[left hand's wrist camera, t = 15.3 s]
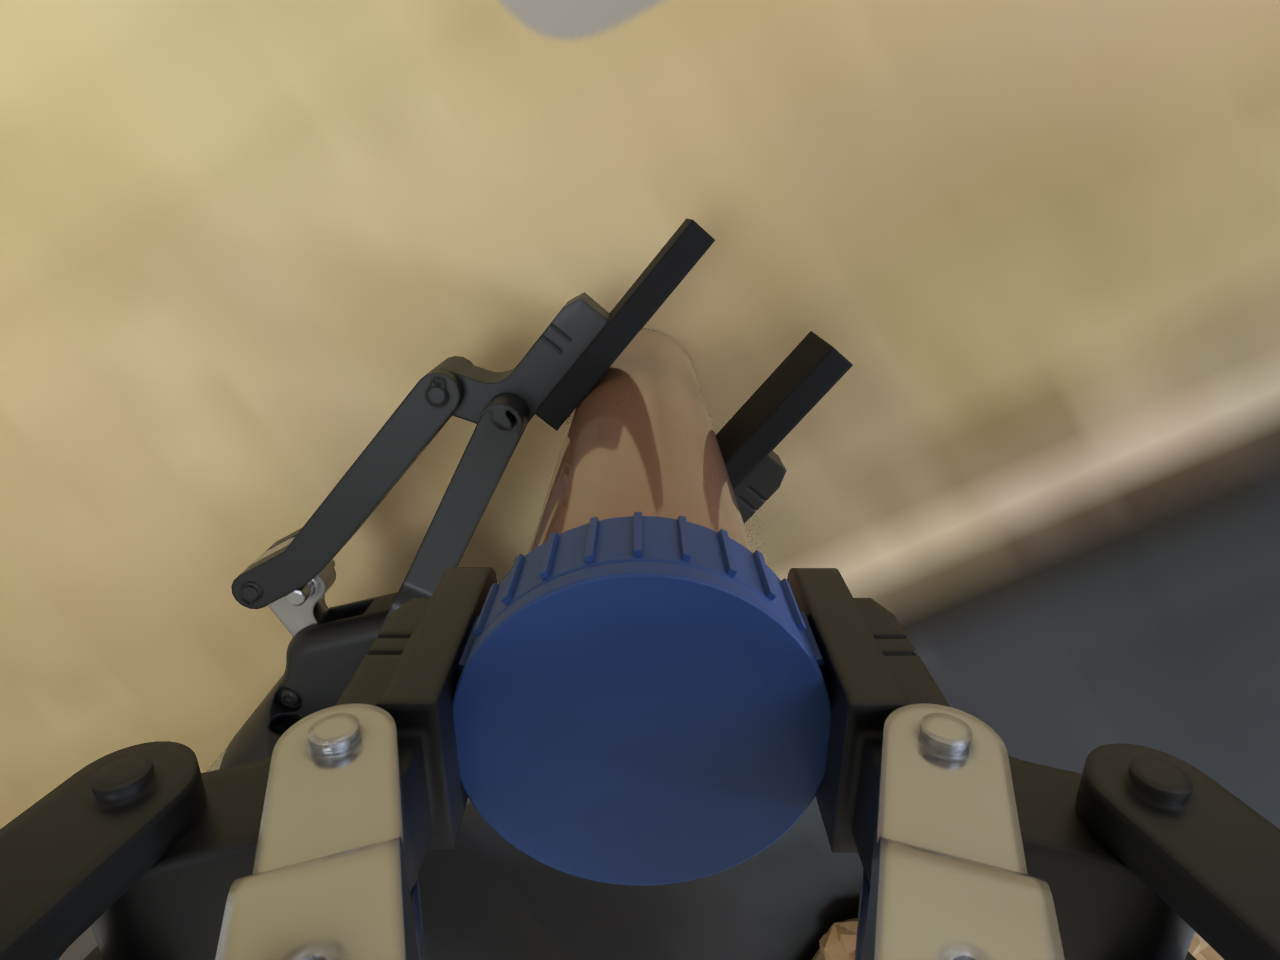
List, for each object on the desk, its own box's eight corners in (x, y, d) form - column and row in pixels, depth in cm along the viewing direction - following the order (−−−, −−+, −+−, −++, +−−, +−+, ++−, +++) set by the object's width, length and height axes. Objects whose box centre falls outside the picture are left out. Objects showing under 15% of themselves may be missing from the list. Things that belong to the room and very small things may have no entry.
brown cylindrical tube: (718, 392, 28) (857, 734, 10) (633, 459, 29) (621, 878, 11) (648, 304, 26) (665, 515, 9) (561, 377, 27) (420, 697, 10)
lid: (856, 549, 10) (896, 614, 9) (756, 820, 12) (774, 917, 10) (501, 474, 10) (474, 528, 8) (450, 766, 12) (420, 857, 10)
